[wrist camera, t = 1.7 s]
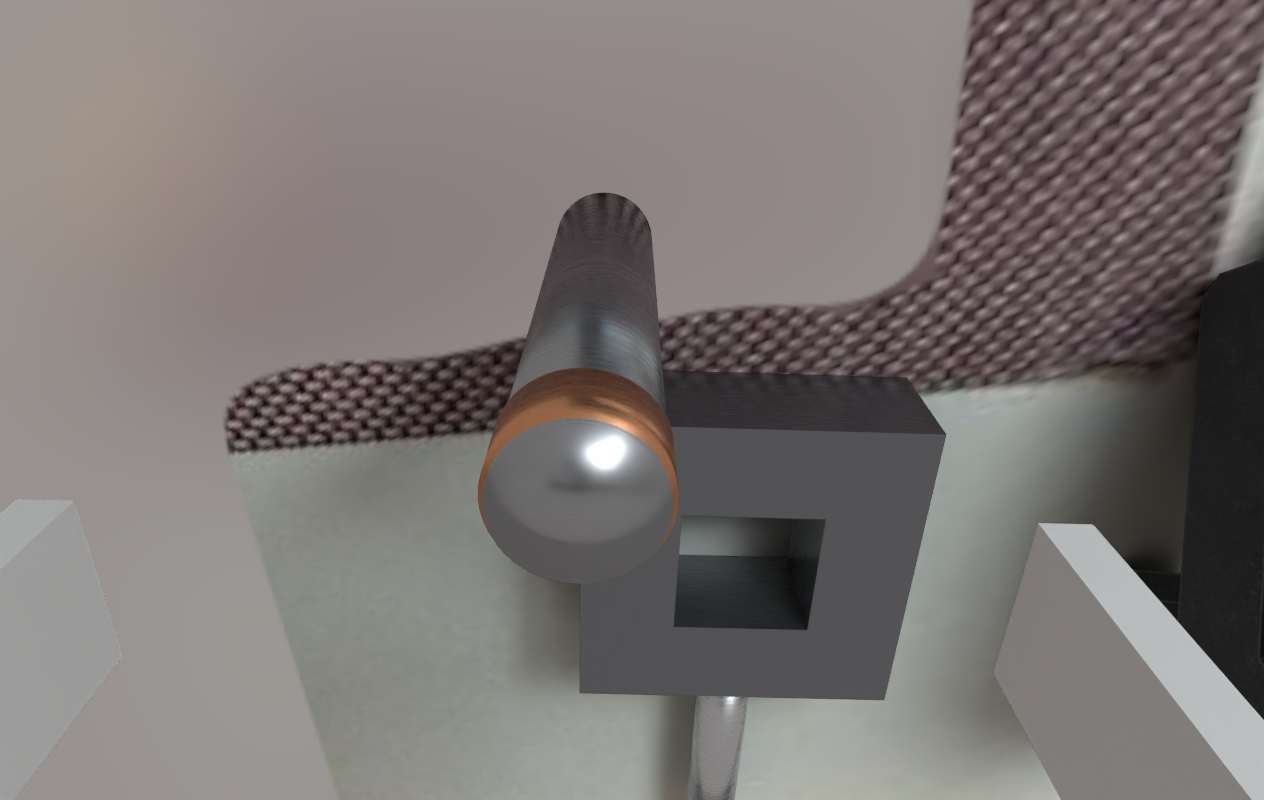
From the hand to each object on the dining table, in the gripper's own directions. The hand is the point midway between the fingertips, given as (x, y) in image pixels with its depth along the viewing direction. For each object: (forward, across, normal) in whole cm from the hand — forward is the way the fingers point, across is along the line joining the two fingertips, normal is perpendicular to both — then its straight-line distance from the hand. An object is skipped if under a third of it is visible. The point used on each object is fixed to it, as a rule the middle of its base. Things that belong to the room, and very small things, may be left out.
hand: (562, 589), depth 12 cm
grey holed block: (+17, +5, -15) cm, 23 cm away
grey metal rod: (+17, 0, 0) cm, 17 cm away
